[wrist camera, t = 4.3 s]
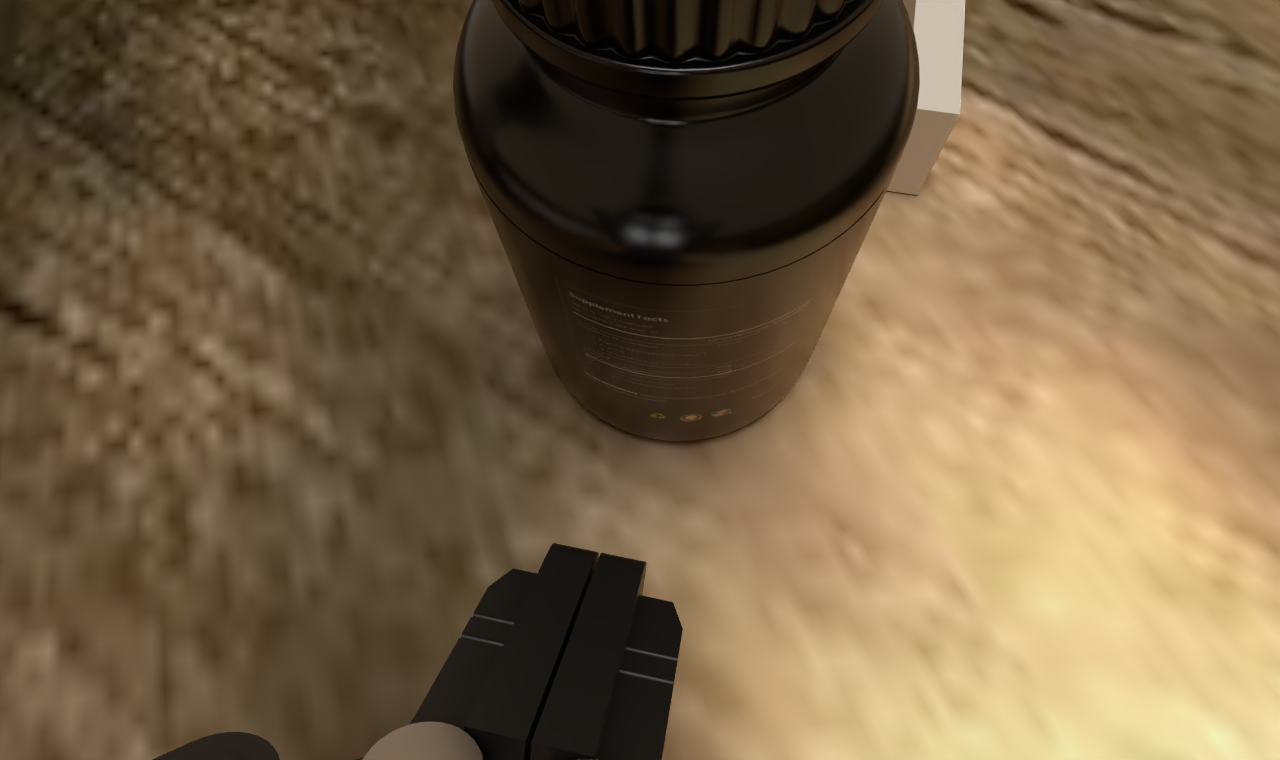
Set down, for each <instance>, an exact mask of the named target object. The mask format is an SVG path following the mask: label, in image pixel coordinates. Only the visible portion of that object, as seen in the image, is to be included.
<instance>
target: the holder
mask: <svg viewBox="0 0 1280 760" xmlns="http://www.w3.org/2000/svg"><path fill="white" fill-rule="evenodd" d="M903 1H904V4H905V6H906V8H907V11H908V14H909V17H910V20H911V23H912V27H913V31H914V34H915V39H916V44H917V51H918V57H919V67H920V87H919V97H918V105H917V111H916V115H915V119H914V123H913V127H912V130H911V133H910V136H909V139H908V141H907V144H906V147H905V149H904V152H903V154H902V157H901V159H900V161H899V164H898V166H897V168H896V171H895V173H894V175H893V177H892V180H891V182H890V184H889V186H888V188H887V191H892V192H899V193H906V194H913V195H918V193H919V191H920V190H921V188H922V186H923V184H924V182H925V180H926V178H927V176H928V174H929V172H930V171H931V169H932V167H933V165H934V163H935V161H936V159H937V157H938V155H939V153H940V152H941V150H942V148H943V146H944V144H945V142H946V140H947V138H948V136H949V134H950V132H951V131H952V129H953V127H954V125H955V123H956V121H957V119H958V117H959V115H960V104H961V82H962V60H963V39H964V17H965V0H903Z"/></svg>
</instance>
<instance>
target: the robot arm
mask: <svg viewBox="0 0 1280 760" xmlns="http://www.w3.org/2000/svg"><path fill="white" fill-rule="evenodd" d="M645 572H646V562H643V561H639V560H634V559H629V558H624V557H619V556H614V555H610V554H605V553H601V555H600V557H599V553H598V552H594V551H589V550H585V549H580V548H575V547H570V546H565V545H561V544H556V543H553V544H552V546H551V547H550V549H549V551H548V553H547V555H546V557H545V559H544V561H543V564H542V566H541V568H540V570H539V572H538V574H536V573H532V572H527V571H522V570H518V569H512V570H511V571H509V572H508V573H507V574H505V575H504V576H502V577H501V578H500V579H498V580H497V581H496V582H494V583H493V584H492V585H490V586H489V587H488V588H487V590H486V592H485V594H484V595H483V597H482V599H481V601H480V603H479V604H478V606H477V608H476V610H475V611H474V615H473V617H471V618H470V620H469V622H468V624H467V625H466V627H465V629H464V631H463V632H462V637H461V638H459V639H458V641H457V643H456V645H455V647H454V648H453V650H452V652H451V654H450V655H449V657H448V659H447V661H446V662H445V664H444V666H443V668H442V669H441V671H440V673H439V675H438V676H437V678H436V680H435V682H434V683H433V685H432V687H431V689H430V691H429V692H428V694H427V696H426V698H425V699H424V701H423V703H422V705H421V706H420V708H419V710H418V712H417V713H416V715H415V717H414V718H413V720H412V721H411V723H410V724H409V725H407V726H404V727H401V728H399V729H397V730H395V731H393V732H391V733H389V734H388V735H386V736H385V737H383V738H382V739H380V740H379V741H378V742H377V743H376V744H375V745H374V746H373V747H372V748H371V749H370V750H369V751H368V753H367V754H366V755H365V756H364V757H363V758H360V759H357V760H661V759H662V753H663V747H664V741H665V735H666V728H667V722H668V716H669V710H670V704H671V698H672V691H673V685H674V679H675V673H676V667H677V660H678V654H679V648H680V642H681V636H682V630H683V629H682V626H681V623H680V620H679V618H678V615H677V612H676V609H675V607H674V604H673V602H669V601H664V600H660V599H655V598H650V597H645V596H642V592H643V585H644V579H645ZM153 760H280V759H279V756H278V753H277V752H276V750H275V749H274V747H273V746H272V745H271V744H270V743H269V742H268V741H267V740H265V739H263V738H261V737H259V736H256V735H253V734H250V733H243V732H226V733H219V734H214V735H210V736H207V737H203V738H201V739H198V740H195V741H193V742H190V743H188V744H186V745H184V746H181V747H179V748H177V749H175V750H173V751H170V752H168V753H166V754H164V755H161V756H159V757H157V758H155V759H153Z"/></svg>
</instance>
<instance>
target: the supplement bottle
mask: <svg viewBox="0 0 1280 760" xmlns="http://www.w3.org/2000/svg"><path fill="white" fill-rule="evenodd" d="M919 87H920V67H919V57H918V51H917V44H916V39H915V34H914V31H913V27H912V23H911V20H910V17H909V14H908V11H907V8H906V6H905V4H904V1H903V0H473V2H472V4H471V7H470V9H469V11H468V14H467V16H466V19H465V22H464V25H463V28H462V31H461V35H460V38H459V42H458V46H457V52H456V58H455V65H454V78H453V94H454V105H455V113H456V118H457V122H458V127H459V131H460V134H461V138H462V141H463V144H464V146H465V150H466V153H467V156H468V159H469V162H470V164H471V167H472V170H473V172H474V175H475V178H476V180H477V183H478V185H479V188H480V190H481V193H482V195H483V198H484V200H485V203H486V205H487V208H488V210H489V212H490V215H491V217H492V220H493V222H494V225H495V227H496V230H497V232H498V235H499V237H500V240H501V242H502V245H503V247H504V250H505V252H506V255H507V257H508V260H509V262H510V265H511V267H512V270H513V272H514V275H515V277H516V280H517V282H518V285H519V287H520V290H521V292H522V294H523V297H524V299H525V302H526V304H527V307H528V309H529V312H530V314H531V317H532V319H533V322H534V324H535V327H536V329H537V332H538V334H539V337H540V339H541V342H542V344H543V346H544V348H545V350H546V353H547V355H548V357H549V359H550V361H551V363H552V366H553V368H554V370H555V371H556V373H557V375H558V376H559V378H560V379H561V381H562V382H563V384H564V385H565V386H566V388H567V389H568V390H569V392H570V393H571V394H572V395H573V396H574V397H575V398H576V399H577V400H578V401H579V402H580V403H581V404H582V405H583V406H584V407H585V408H587V409H588V410H589V411H590V412H591V413H593V414H594V415H596V416H597V417H599V418H600V419H602V420H603V421H605V422H607V423H609V424H611V425H613V426H614V427H617V428H619V429H622V430H624V431H626V432H629V433H632V434H635V435H639V436H642V437H647V438H652V439H658V440H667V441H690V440H700V439H706V438H712V437H715V436H719V435H723V434H726V433H729V432H731V431H734V430H737V429H739V428H741V427H743V426H745V425H747V424H749V423H751V422H753V421H755V420H756V419H758V418H759V417H761V416H763V415H764V414H765V413H767V412H768V411H769V410H770V409H772V408H773V407H774V406H775V405H776V404H777V403H778V402H779V401H780V400H781V399H782V398H784V396H785V395H786V394H787V393H788V392H789V390H790V389H791V388H792V387H793V385H794V384H795V383H796V381H797V380H798V378H799V377H800V375H801V374H802V372H803V370H804V368H805V366H806V364H807V363H808V361H809V359H810V357H811V355H812V352H813V350H814V348H815V346H816V344H817V342H818V339H819V337H820V335H821V333H822V331H823V329H824V326H825V324H826V322H827V320H828V318H829V315H830V313H831V311H832V309H833V307H834V304H835V302H836V300H837V298H838V296H839V294H840V291H841V289H842V287H843V285H844V283H845V280H846V278H847V276H848V274H849V272H850V269H851V267H852V265H853V263H854V261H855V258H856V256H857V254H858V252H859V250H860V248H861V245H862V243H863V241H864V239H865V237H866V234H867V232H868V230H869V228H870V226H871V223H872V221H873V219H874V217H875V215H876V213H877V210H878V208H879V206H880V204H881V202H882V199H883V197H884V195H885V193H886V191H887V188H888V186H889V184H890V182H891V180H892V177H893V175H894V173H895V171H896V168H897V166H898V164H899V161H900V159H901V157H902V154H903V152H904V149H905V147H906V144H907V141H908V139H909V136H910V133H911V130H912V127H913V123H914V119H915V115H916V111H917V105H918V97H919Z"/></svg>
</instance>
